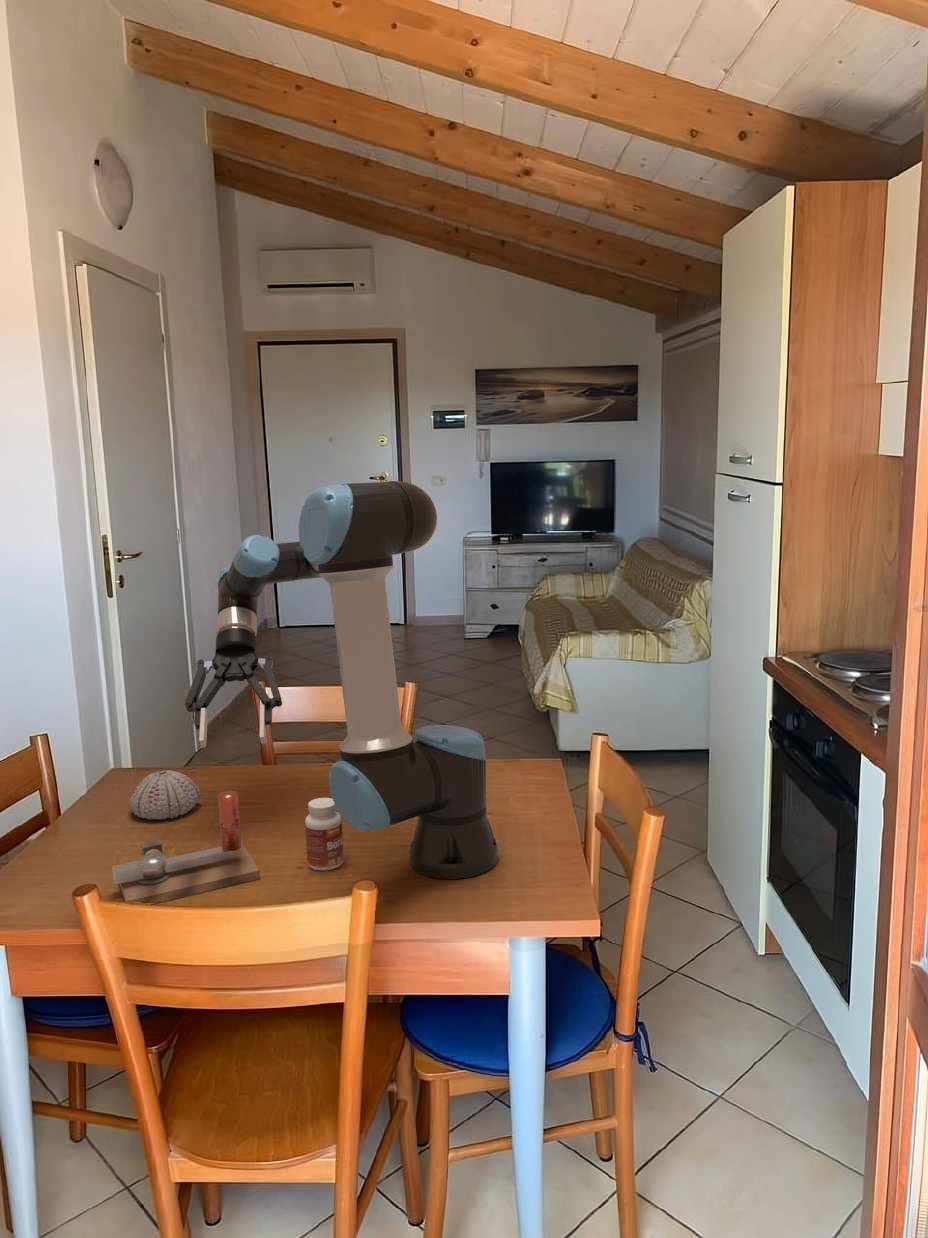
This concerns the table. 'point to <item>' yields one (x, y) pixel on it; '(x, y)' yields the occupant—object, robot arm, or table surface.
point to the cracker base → (190, 877)
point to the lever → (159, 864)
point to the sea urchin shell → (164, 795)
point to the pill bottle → (324, 835)
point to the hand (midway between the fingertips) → (232, 742)
